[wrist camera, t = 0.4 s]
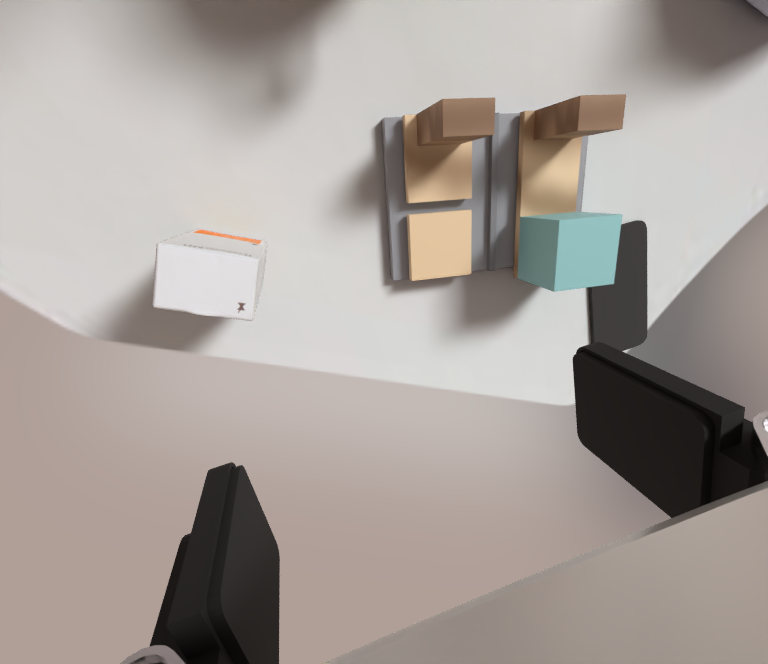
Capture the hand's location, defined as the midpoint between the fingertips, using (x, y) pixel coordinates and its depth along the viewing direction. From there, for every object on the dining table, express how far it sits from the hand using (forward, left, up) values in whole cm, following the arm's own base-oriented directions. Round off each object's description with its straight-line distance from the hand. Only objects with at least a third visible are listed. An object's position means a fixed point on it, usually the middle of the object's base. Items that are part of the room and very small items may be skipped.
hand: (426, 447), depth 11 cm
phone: (+6, +33, -30) cm, 45 cm away
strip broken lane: (-9, +11, -28) cm, 32 cm away
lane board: (-5, +16, -30) cm, 34 cm away
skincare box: (-2, -8, -30) cm, 31 cm away
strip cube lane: (-5, +22, -28) cm, 36 cm away
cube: (0, +22, -28) cm, 35 cm away
